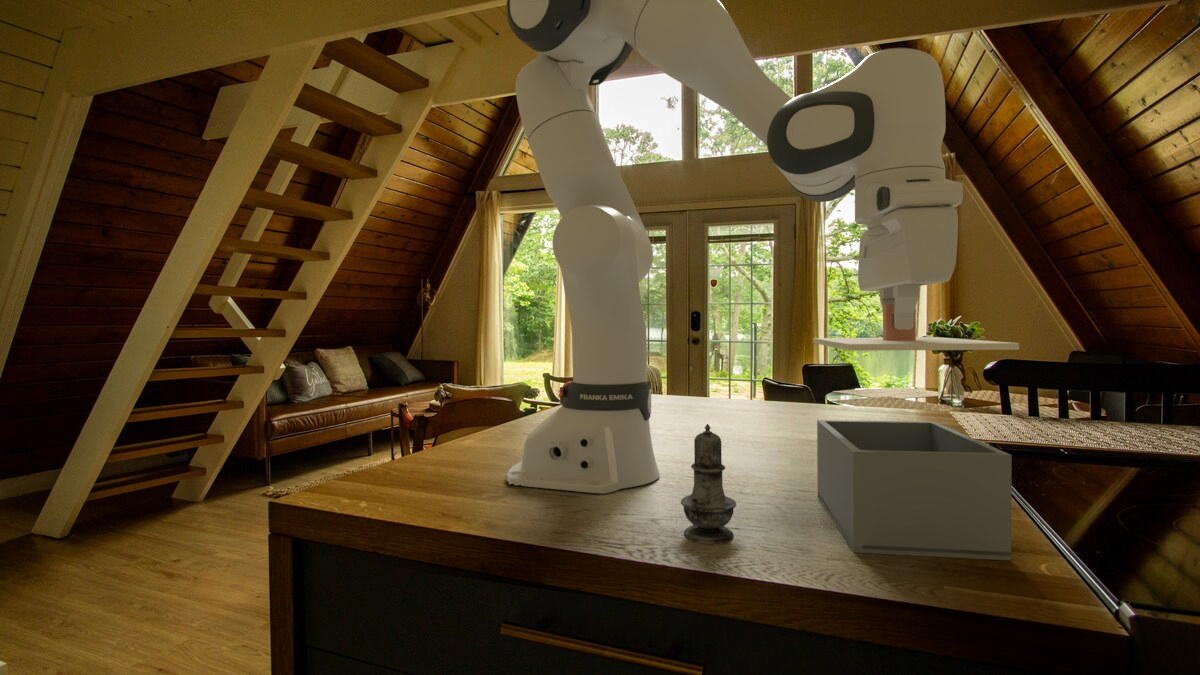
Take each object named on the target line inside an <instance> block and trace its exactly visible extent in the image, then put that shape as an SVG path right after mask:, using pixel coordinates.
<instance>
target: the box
mask: <svg viewBox="0 0 1200 675" xmlns="http://www.w3.org/2000/svg"><path fill="white" fill-rule="evenodd" d="M816 426H817V428H816V430H817V431H816V432H817V433H816V436H817V437H816V438H817V439H816V448H817V450H816V451H817V454H816V456H817V461H816V462H817V464H816V467H817V468H816V469H817V473H816V474H817V478H816V479H817V499H818V501H819V502H820V503H821V505H822V507H823V508H824V510H825V511H826V513H827V514H828V516H829V517H830V518H831V520H832V521H833V522H832V523H833V524H834V525H835V526H836V528H837V529H838V531H839V533H840V534H841V535H842V537H843V538H844V540H845V542H846V543H847V545H848V546H849V548H850V549H851V551H852V552H853V554H855V553H856V554H857V553H858V554H859V553H860V554H873V555H874V554H877V555H897V556H898V555H899V556H914V557H917V556H918V557H932V558H933V557H934V558H935V557H936V558H938V557H939V558H954V559H955V558H956V559H958V558H959V559H972V560H973V559H974V560H995V561H1012V466H1013V465H1012V462H1013V460H1012V454H1011V453H1008V452H1006V451H1002V450H1001V449H999V448H996V447H995V446H991V445H989V444H988V443H985V442H982V441H980V440H978V439H976V438H973V437H972V436H968V435H967V434H964V433H962V432H959V431H958V430H955V429H952V428H950V427H949V426H947V425H946V426H945V425H943V424H941V423H940V422H937V421H904V420H903V421H902V420H899V421H898V420H897V421H896V420H838V419H837V420H836V419H834V420H831V419H829V420H828V419H827V420H826V419H825V420H824V419H817V422H816Z"/></svg>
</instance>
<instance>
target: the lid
mask: <svg viewBox="0 0 1200 675" xmlns="http://www.w3.org/2000/svg"><path fill="white" fill-rule="evenodd" d="M894 305H895V304H884V305H883V309H882V337H822V338H821V337H814V338H812V343H813V344H816V345H821V346H827V347H830V348H835V349H840V350H844V351H850V352H852V351H855V352H856V351H857V352H858V351H860V352H862V351H867V352H868V351H869V352H871V351H990V350H991V351H999V350H1000V351H1003V350H1004V351H1007V350H1008V351H1009V350H1010V351H1013V350H1016V351H1017V350H1020V343H1019V342H1009V341H1007V342H1006V341H995V340H994V341H993V340H983V339H982V340H981V339H970V338H969V339H968V338H954V337H943V336H942V337H940V336H931V337H928V336H926V337H925V336H924V337H923V336H922V337H921V336H917V334H916V332H917V326H916V324H917V322H916V321H917V319H916V318H917V312H916V311H917V307H916V308H915V311H914V326H913V328H912V329H910V330H896V329H893V328H892V314H893V313H894Z"/></svg>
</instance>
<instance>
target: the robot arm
mask: <svg viewBox="0 0 1200 675" xmlns="http://www.w3.org/2000/svg"><path fill="white" fill-rule="evenodd" d="M505 5H506V8H505V9H506V10H505V11H506V18H507V19H506V20H507V22H508V24H509V27H510V29H511V31H512V33H513V34H514V35H515V36H516V37H517V39H518V40H520V41H521V42H522V43H523V44H524V45H525V46H526V47H528V48H530V49H531V50H533V51H535V52H537V54H536V57H535V59H533V60H530V61H529V62H528V63H526V64H525V65H524V66H523V67H522V68H521V69H520V71H519V73H518V75H516V80H515V84H514V85H515V87H514V88H515V89H514V90H515V96H516V101H517V108H518V112H519V116H520V117H519V118H520V120H521V121H520V122H521V124H522V128H523V132H524V134H525V137H526V141H527V143H528V145H529V148H530V152H531V154H532V157H533V159H534V162H535V165H536V167H537V170H538V173H539V176H540V178H541V181H542V184H543V187H544V189H545V191H546V194H547V195H548V197H549V199H551V201H552V202H553V204H554V206H555V207H556V210H557V211H558V213H559V214H560V216H561V218H560V220H559V221H558V222H557V224H556V226H555V229H554V231H553V236H552V251H553V254H554V258H555V259H556V261H557V264H558V266H559V269H560V273H561V277H562V284H563V289H564V295H565V300H566V305H567V310H568V315H569V322H570V329H571V352H572V354H571V357H572V380H570V381H567V382H564V384H563V385H562V386H561V387H560V389H559V390H558V392H559V394H558V398H559V403H560V405H561V406H560V408H558V409H556V411H555V412H553V413H552V414H550V415H549V416H548V417H546V418H545V420H543V421H542V422H541V423H539V424H538V425H537V426H536V427H535V428H534V429H533V430H532V431H531V432H530V433H529V434H528V435H527V437H526V439H525V441H524V445H523V451H522V456H521V461H519V462H517V463H515V464H514V465H512V466H511V467H510V468H509V470H508V471H507V473H506V482H507V481H508V482H509V483H508V482H507V483H508V485H511V484H514V485H513V486H519V485H521V487H529V488H540V489H541V488H542V489H550V490H561V491H571V492H580V493H592V494H610V493H613V492H615V491H618V490H619V491H620V490H622V489H627V488H633V487H638V486H643V485H646V484H650V483H652V482H654V481H656V480H657V479H659V478H660V472H659V469H658V468H659V467H658V465H657V462H656V458H655V452H654V448H653V442H652V435H651V427H650V426H651V424H650V418H651V415H652V389H651V382H650V380H648V361H647V360H648V354H647V353H648V348H647V340H648V339H647V338H648V337H647V336H648V335H647V325H646V321H645V317H644V311H643V305H642V299H641V289H640V282H642V281H643V280H644V279H645V278H646V276H647V275H648V273H649V272H650V270H651V268H652V265H653V260H654V250H653V246H652V243H651V239H650V238H649V235H648V233H647V230H646V227H645V225H644V223H643V221H642V219H641V216H640V214H639V212H638V210H637V207H636V205H635V203H634V200H633V198H632V197H631V195H630V192H629V190H628V188H627V186H626V184H625V182H624V179H623V178H622V175H621V173H620V172H619V170H618V166H617V164H616V162H615V160H614V157H613V154H612V152H611V149H610V146H609V144H608V141H607V139H606V137H605V134H604V131H603V129H602V125H601V124H600V120H599V118H598V116H597V113H596V111H595V108H594V105H593V103H592V100H591V97H590V92H589V86H599V85H601V84H603V83H604V82H605V81H606V80H607V78H608V77H609V75H611V74H613V73H614V72H616V71H617V70H618V69H619V68H621V66H623V65H624V64H625V63H626V61H627V60H628V59H629V57H630V56H631V53H632V51H633V49H634V50H635V51H636V52H637V53H638V55H639V54H640V56H641V57H642V58H644V59H645V61H647V62H649V63H650V64H651V65H652V66H654V67H656V69H658V70H659V71H661V72H662V73H664V74H665V75H667V76H668V77H670V78H672V79H674V80H675V81H677V82H678V83H681V84H682V85H684V86H686V87H688V88H689V89H691V90H693V91H694V92H697V93H698V94H700V95H701V96H703V97H705V98H707V99H708V100H710V101H711V102H714V103H715V104H717V105H718V106H719V107H722V108H723V109H724V110H725V111H727V112H729V113H730V114H731V115H732V116H734V117H735V118H736V119H737V120H738V121H739V122H740V123H741V124H743V125H744V126H745V127H746V128H747V129H748V130H749V131H751V133H752V134H754V135H755V136H756V137H757V139H759V140H760V141H762V143H764V144H765V145H766V146H767V151H768V155H769V156H770V159H771V160H772V162H773V163H774V164H775V166H776V168H777V169H778V170H779V171H780V172H781V173H782V175H784V177H785V178H786V179H787V182H788V183H789V184H790V186H791V188H792V190H794V191H795V193H796V194H798V196H800V197H802V198H803V199H806V200H808V201H811V202H817V203H824V202H825V203H826V202H831V201H834V200H838V199H840V198H842V197H845V196H846V195H847V194H848V193H850V192H851V191H852V190H853V189H854V222H855V224H858V225H863V226H864V225H865V226H866V230H864V231H863V232H862V233H861V236H860V239H859V240H860V241H859V250H858V253H859V254H858V270H857V282H858V283H857V284H858V287H859V291H860V292H879V301H880V305H881V309H882V310H883V305H884V304H895V305H894V313H893V314H892V328H893V329H896V330H910V329H912V328H913V326H914V311H915V308H916V309H917V305H918V301H919V299H920V298H919V297H920V287H921V286H928V285H935V284H940V283H946V282H947V283H948V282H949V281H950V280H951V278H952V275H953V273H954V270H955V267H956V264H957V262H956V261H957V251H958V250H957V249H958V237H959V234H958V233H959V215H958V210H957V209H956V207H958V206H960V205H961V204H962V203H963V199H964V185H963V183H962V182H960V181H957V180H956V181H955V180H950V179H948V178H946V165H945V162H944V159H943V156H942V146H943V145H942V144H943V139H944V137H945V134H946V119H947V118H946V117H947V116H946V97H945V86H944V84H945V83H944V79H943V74H942V73H943V72H942V70H941V67H940V65H939V63H938V61H937V60H936V59H935V58H934V56H932V55H931V54H930V53H928V52H925V51H923V50H920V49H916V48H913V47H890V48H885V49H884V48H883V49H882V50H877V51H875V52H872V53H871V54H869V55H867V56H866V57H865V58H863V60H861V61H860V63H858V64H857V66H855V68H853V69H852V70H851V71H849V72H848V73H847V74H845V75H844V76H842V77H840V78H839V79H836V80H835V81H833V82H832V83H830V84H828V85H826V86H823V87H821V88H819V89H817V90H814V91H812V92H806V93H802V94H799V95H797V96H795V97H793V98H792V97H791V96H790V95H789V94H788V93H787V92H785V91H784V90H783V89H782V88H781V87H780V86H779V85H777V84H776V83H775V81H773V80H771V78H770V77H768V76H767V74H766V73H765V72H764V71H763V70H762V69H761V67H760V66H759V65H758V63H757V61H756V60H755V59H754V57H753V55H752V54H751V52H750V50H749V48H748V47H747V44H746V43H745V40H744V39H743V37H742V36H741V33H740V32H739V30H738V28H737V25H736V24H735V22H734V20H733V18H732V17H731V15H730V13H729V12H728V11H727V10H726V8H725V6H724V5H723V4H722V2H721V1H720V0H506V4H505Z"/></svg>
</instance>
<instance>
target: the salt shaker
mask: <svg viewBox="0 0 1200 675" xmlns="http://www.w3.org/2000/svg"><path fill="white" fill-rule="evenodd" d="M704 429H705V431H702V432H699V433H698V434H697V435H696V436H695V437H694V445H693V446H694V463H693V464H691V465H690V468H691V469H692V470H693V488H692V492H691V494H689V495H686V496H684V497H682V498H681V500H680V504H681V505H682V507H683V513H684V514H685V517H686V518H687V520H688V521H689V522H690V523H691V525H690V526H689V527H687V528H686V529H685V530H684V532H683V536H684V538H686V539H687V540H690V541H692V542H695V543H698V544H704V545H719V544H720V545H721V544H726V543H728V542H730V541H732V540H733V539H734V538H735V534H734V533H733V531H732V530H731V529H729V528H728V527H726V525H727V524H728V523H729V522H730V521H731V519H732V516H733V515H734V509H736V506H737V502H736V501H735V499H734V498H732V497H730V496H727V495H726V494H725V492H724V487H723V471H724V470H725V469H726V466H725V465H724V464H722V462H723V460H722V439H721V437H720V436H719V435H717V434H716V433H714V432H713V431H711V429H712V428H711V426H710V425H709V424H708V423H707V424H706V425H705V426H704Z"/></svg>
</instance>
